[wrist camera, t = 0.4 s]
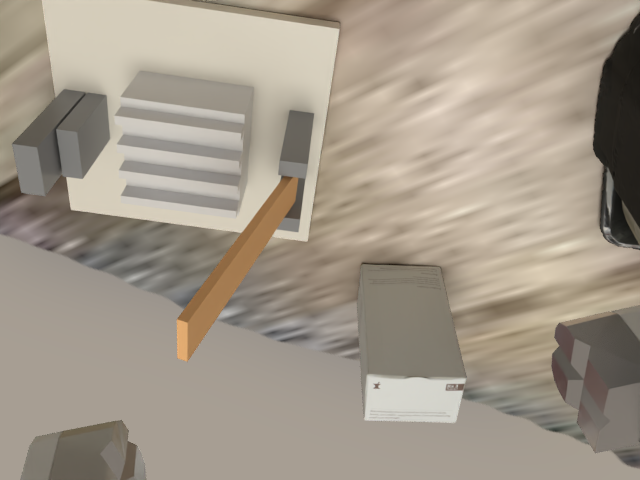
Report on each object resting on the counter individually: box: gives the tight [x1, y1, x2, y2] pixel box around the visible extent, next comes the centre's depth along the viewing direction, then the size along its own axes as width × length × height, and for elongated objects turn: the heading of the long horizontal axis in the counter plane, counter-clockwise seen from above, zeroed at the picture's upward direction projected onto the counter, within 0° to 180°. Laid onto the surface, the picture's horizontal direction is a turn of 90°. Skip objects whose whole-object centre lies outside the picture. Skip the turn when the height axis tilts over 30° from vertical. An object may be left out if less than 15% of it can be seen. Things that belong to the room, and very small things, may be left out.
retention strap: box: [177, 176, 298, 361], centre depth 39 cm, size 18×3×1 cm
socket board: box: [12, 0, 340, 241], centre depth 48 cm, size 20×22×11 cm
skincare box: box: [357, 264, 467, 423], centre depth 56 cm, size 8×6×15 cm
